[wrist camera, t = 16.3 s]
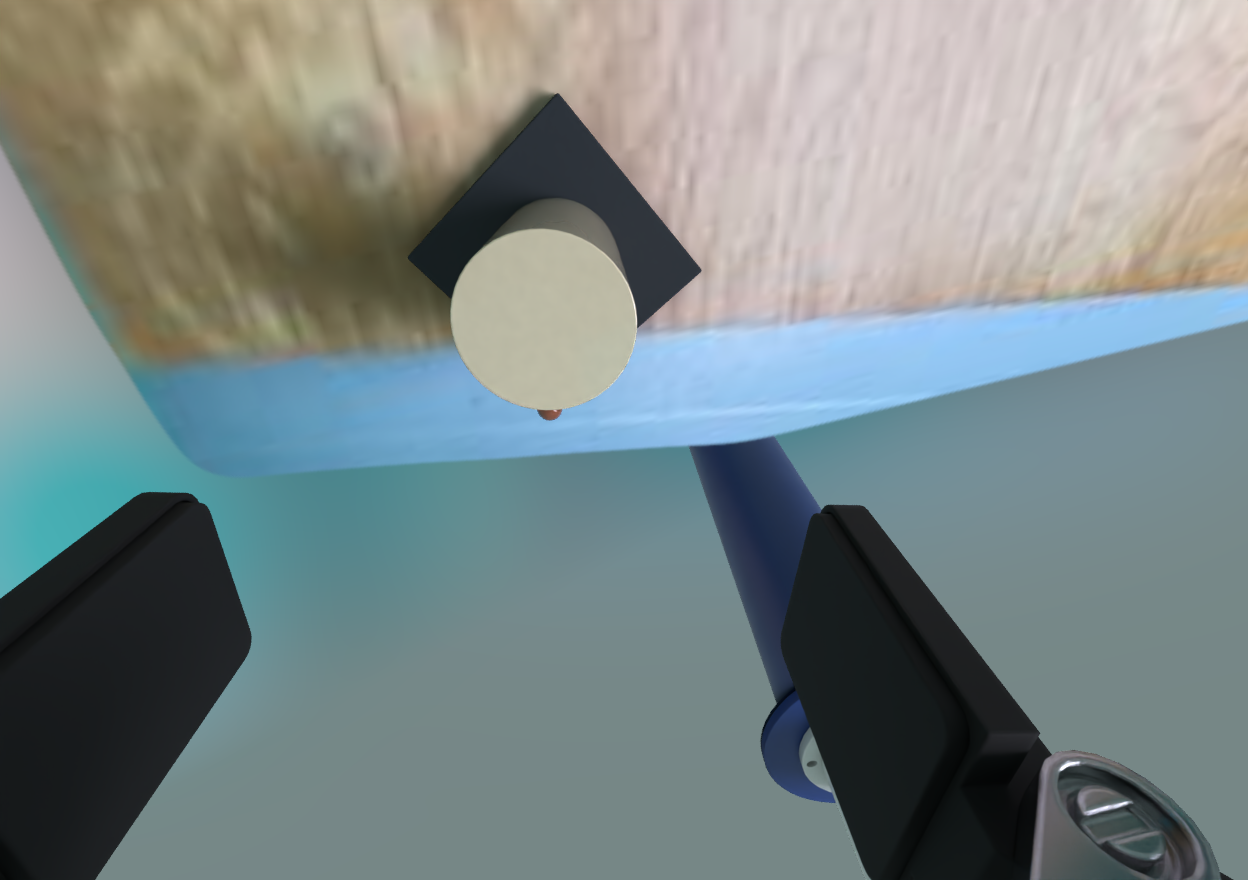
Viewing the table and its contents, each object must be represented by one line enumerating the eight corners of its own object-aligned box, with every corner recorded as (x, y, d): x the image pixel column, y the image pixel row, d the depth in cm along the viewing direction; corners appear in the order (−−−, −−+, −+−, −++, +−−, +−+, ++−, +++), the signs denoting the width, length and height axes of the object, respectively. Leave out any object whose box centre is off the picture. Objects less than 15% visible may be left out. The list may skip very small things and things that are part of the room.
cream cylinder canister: (490, 194, 25) (440, 223, 16) (623, 201, 26) (643, 233, 17) (498, 352, 29) (461, 447, 20) (615, 356, 29) (628, 449, 20)
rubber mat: (699, 267, 28) (702, 271, 27) (558, 393, 31) (557, 399, 30) (558, 93, 24) (557, 91, 24) (410, 254, 27) (406, 257, 26)
